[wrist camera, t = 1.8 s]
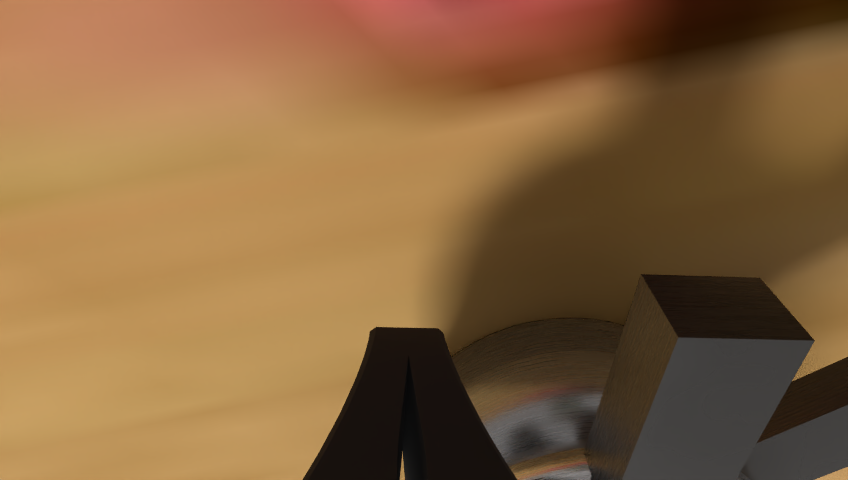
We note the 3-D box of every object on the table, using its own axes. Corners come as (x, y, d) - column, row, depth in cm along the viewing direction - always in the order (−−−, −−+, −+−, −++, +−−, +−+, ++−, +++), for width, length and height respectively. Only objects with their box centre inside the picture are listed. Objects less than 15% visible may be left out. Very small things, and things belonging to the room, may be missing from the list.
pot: (464, 549, 26) (476, 675, 22) (311, 433, 21) (290, 566, 17) (862, 377, 21) (975, 501, 17) (771, 176, 16) (895, 280, 12)
